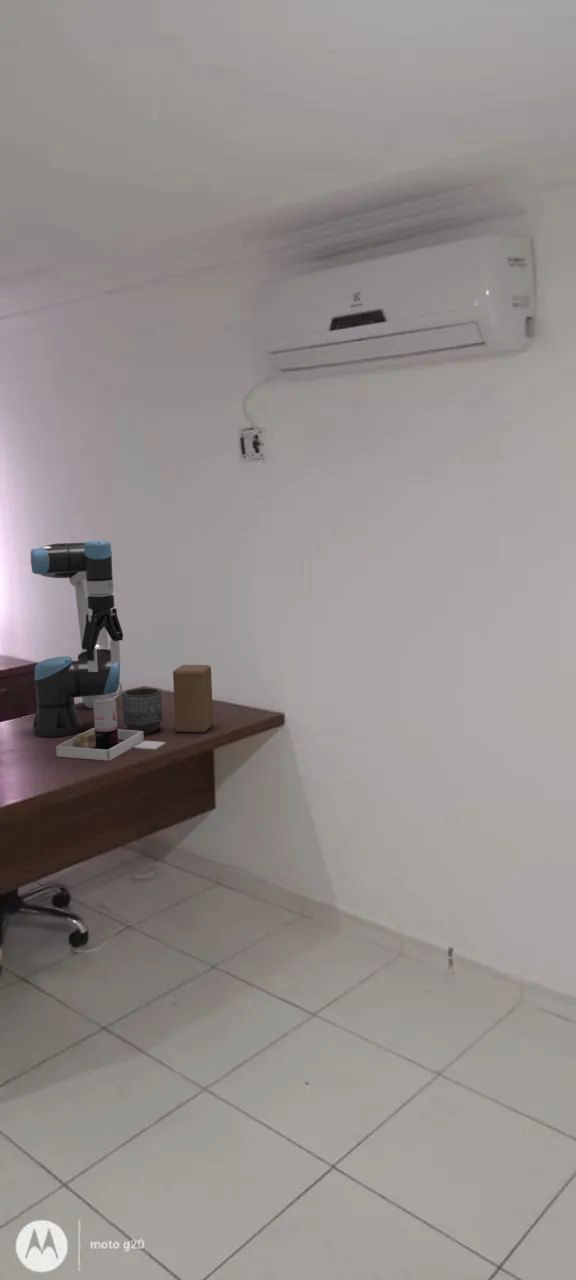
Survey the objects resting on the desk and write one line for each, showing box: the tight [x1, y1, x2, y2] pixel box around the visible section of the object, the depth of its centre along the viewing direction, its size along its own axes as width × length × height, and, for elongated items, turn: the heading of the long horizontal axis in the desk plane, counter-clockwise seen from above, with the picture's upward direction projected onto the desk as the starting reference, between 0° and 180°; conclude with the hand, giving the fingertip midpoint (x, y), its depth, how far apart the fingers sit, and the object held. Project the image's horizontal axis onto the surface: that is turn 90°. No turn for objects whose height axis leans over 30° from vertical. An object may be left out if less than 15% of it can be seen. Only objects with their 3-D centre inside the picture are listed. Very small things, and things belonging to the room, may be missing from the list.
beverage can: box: [93, 696, 119, 750], centre depth 273 cm, size 6×6×15 cm
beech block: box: [75, 732, 96, 749], centre depth 276 cm, size 4×4×4 cm
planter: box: [121, 687, 163, 735], centre depth 293 cm, size 12×12×13 cm
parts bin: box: [55, 727, 145, 761], centre depth 275 cm, size 17×21×3 cm
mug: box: [81, 679, 123, 709], centre depth 327 cm, size 15×11×13 cm
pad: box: [133, 740, 167, 751], centre depth 276 cm, size 7×7×1 cm
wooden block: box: [172, 664, 214, 734], centre depth 293 cm, size 10×10×20 cm
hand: (104, 667), depth 271 cm, fingers open, 13 cm apart
